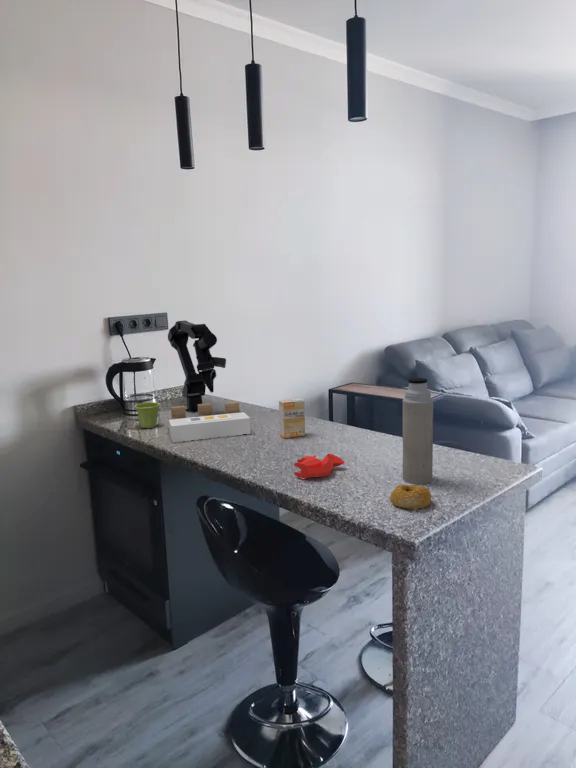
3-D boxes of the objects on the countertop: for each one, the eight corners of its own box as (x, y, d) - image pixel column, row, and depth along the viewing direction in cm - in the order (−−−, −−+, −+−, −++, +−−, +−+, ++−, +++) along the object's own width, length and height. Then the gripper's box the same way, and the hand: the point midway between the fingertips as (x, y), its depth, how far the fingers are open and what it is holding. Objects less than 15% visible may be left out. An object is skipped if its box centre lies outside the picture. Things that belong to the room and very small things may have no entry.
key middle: (198, 424, 220) (197, 404, 218) (211, 423, 221) (210, 403, 220) (199, 426, 217) (198, 405, 216) (213, 425, 219) (211, 404, 217)
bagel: (431, 495, 146) (431, 477, 145) (431, 513, 136) (430, 494, 135) (392, 493, 149) (391, 476, 148) (388, 511, 138) (388, 492, 137)
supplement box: (283, 439, 201) (282, 402, 199) (279, 435, 206) (278, 399, 203) (305, 436, 204) (304, 400, 201) (301, 432, 208) (300, 397, 206)
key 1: (172, 427, 217) (170, 407, 216) (185, 426, 218) (184, 405, 217) (173, 429, 215) (171, 408, 213) (186, 427, 216) (185, 407, 215)
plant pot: (165, 426, 224) (163, 405, 222) (141, 431, 219) (139, 408, 217) (156, 422, 232) (154, 401, 230) (133, 426, 226) (131, 404, 225)
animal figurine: (350, 471, 167) (351, 454, 166) (315, 484, 157) (315, 466, 156) (321, 462, 176) (321, 446, 175) (286, 474, 165) (285, 457, 164)
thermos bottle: (431, 474, 161) (432, 375, 156) (433, 484, 153) (434, 381, 148) (402, 473, 162) (402, 376, 157) (402, 483, 155) (402, 381, 150)
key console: (168, 430, 218) (166, 413, 217) (240, 422, 226) (239, 406, 225) (172, 442, 201) (171, 424, 200) (250, 434, 209) (249, 416, 208)
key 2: (225, 423, 220) (224, 403, 219) (238, 422, 221) (237, 401, 220) (227, 425, 218) (226, 404, 216) (240, 423, 219) (239, 403, 218)
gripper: (220, 344, 226) (229, 382, 223) (224, 354, 244) (232, 389, 241) (192, 350, 225) (201, 388, 222) (198, 360, 243) (205, 395, 241)
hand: (211, 390), depth 232 cm, fingers open, 9 cm apart
